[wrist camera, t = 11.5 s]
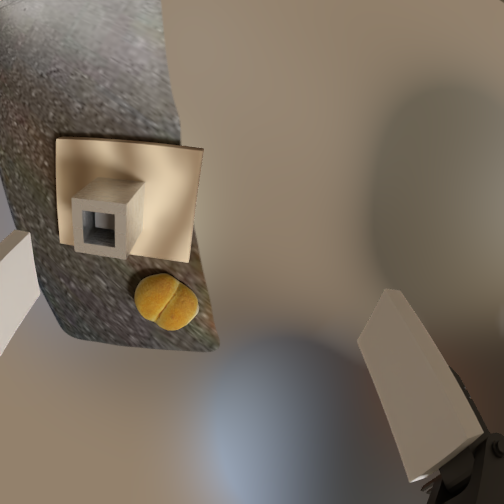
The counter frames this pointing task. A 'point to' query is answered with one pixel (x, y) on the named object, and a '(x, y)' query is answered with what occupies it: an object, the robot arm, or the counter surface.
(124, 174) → the block
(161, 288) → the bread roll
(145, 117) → the counter surface
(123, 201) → the hollow square tube
